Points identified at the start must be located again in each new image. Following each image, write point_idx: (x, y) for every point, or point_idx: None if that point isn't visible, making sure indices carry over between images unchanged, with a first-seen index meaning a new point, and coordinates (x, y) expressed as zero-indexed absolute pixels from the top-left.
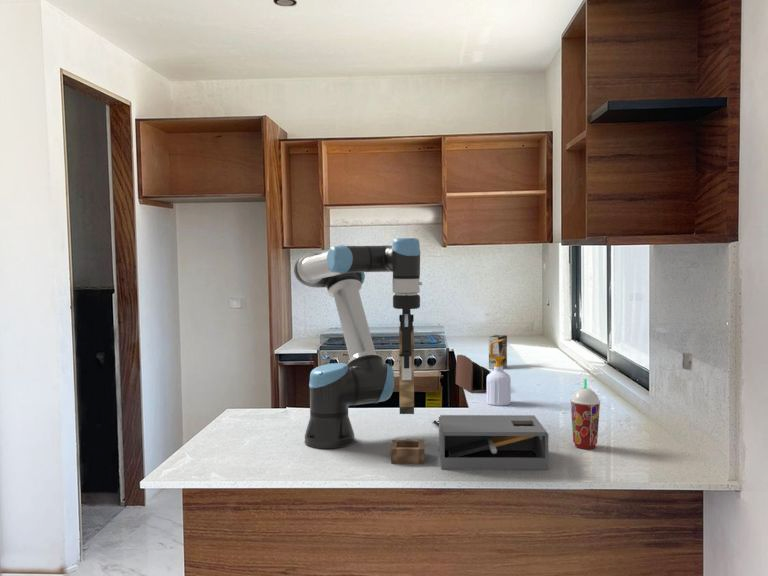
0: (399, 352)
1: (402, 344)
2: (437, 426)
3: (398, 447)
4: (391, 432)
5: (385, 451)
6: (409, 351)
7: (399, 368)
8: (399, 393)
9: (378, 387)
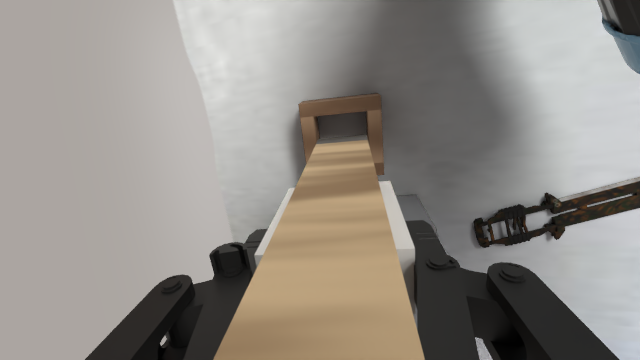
0: (263, 255)
1: (95, 356)
2: (617, 185)
3: (313, 120)
4: (582, 61)
5: (393, 73)
6: (163, 347)
7: (291, 198)
8: (310, 156)
9: (626, 6)
